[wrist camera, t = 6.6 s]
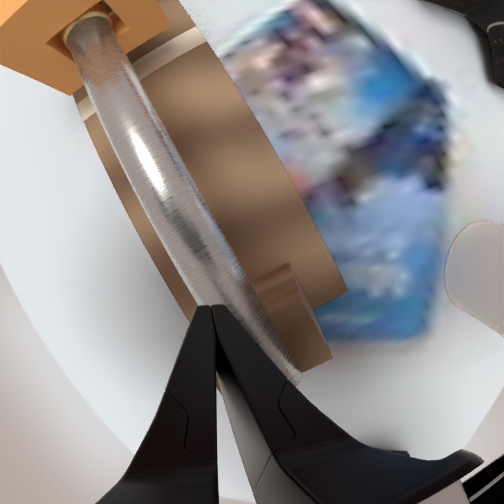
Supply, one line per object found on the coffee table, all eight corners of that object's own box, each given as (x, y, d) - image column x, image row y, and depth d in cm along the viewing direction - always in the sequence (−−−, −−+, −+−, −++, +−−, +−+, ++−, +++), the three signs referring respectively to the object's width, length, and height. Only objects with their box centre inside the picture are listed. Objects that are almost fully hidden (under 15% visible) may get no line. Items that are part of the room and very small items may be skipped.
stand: (344, 286, 21) (388, 338, 12) (215, 351, 22) (189, 427, 13) (173, -4, 18) (138, -71, 9) (67, 67, 19) (1, 29, 11)
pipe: (302, 357, 14) (309, 386, 11) (254, 379, 14) (252, 410, 12) (91, -25, 11) (73, -45, 9) (57, 0, 11) (36, -17, 9)
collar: (171, 26, 14) (117, -64, 6) (70, 95, 15) (-25, 54, 7) (158, 5, 14) (104, -79, 6) (61, 73, 14) (-27, 28, 6)
